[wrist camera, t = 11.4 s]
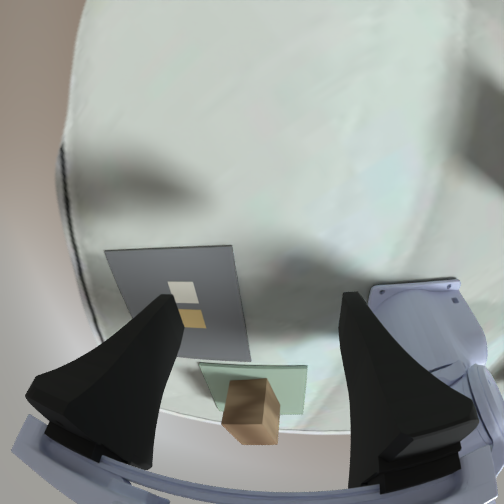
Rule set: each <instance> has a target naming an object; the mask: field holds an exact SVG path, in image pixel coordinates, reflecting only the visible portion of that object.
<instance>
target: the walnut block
mask: <svg viewBox="0 0 504 504" xmlns="http://www.w3.org/2000/svg"><path fill="white" fill-rule="evenodd" d="M279 418H280V403H279V401H278V399H277V397H276V395H275V393H274V391H273V389H272V387H271V385H270V383H269V381H268V379H267V378H262V379H248V380H230V383H229V388H228V393H227V398H226V403H225V408H224V412H223V417H222V422H221V425H222V426H223V427H225V428H226V430H227V431H228V432H229V433H231V434H232V435H233V436H234V437H235V438H236V439H237V440H238V441H239V442H240V443H241V444H242V445H274V444H275V445H277V443H278V431H279Z"/></svg>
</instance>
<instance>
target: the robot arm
mask: <svg viewBox="0 0 504 504" xmlns="http://www.w3.org/2000/svg"><path fill="white" fill-rule="evenodd" d="M460 286H461V282H460V280H459V279H453V280H442V281H430V282H418V283H404V284H389V285H376V286H373V287H372V288H371V290H370V295H369V300H368V305H367V303H366V302H365V301H364V299H363V298H362V296H361V295H360V294H359V293H358V292H343V298H342V306H341V313H340V320H339V327H338V329H339V341H340V350H341V355H342V360H343V366H344V371H345V376H346V381H347V387H348V392H349V400H350V420H351V451H350V471H349V483H348V489H342V490H332V491H318V492H262V491H248V490H237V489H229V488H221V487H215V486H209V485H203V484H197V483H192V482H188V481H183V480H179V479H174V478H170V477H166V476H163V475H159V474H155V473H152V472H149V471H145V470H148V469H150V468H151V467H152V460H153V446H154V438H155V430H156V424H157V419H158V413H159V409H160V404H161V400H162V396H163V392H164V389H165V386H166V383H167V380H168V378H169V375H170V372H171V370H172V367H173V365H174V362H175V359H176V357H177V354H178V351H179V349H180V345H181V341H182V337H183V333H184V328H185V327H184V324H183V321H182V318H181V316H180V313H179V310H178V307H177V304H176V301H175V299H174V296H173V294H160V295H159V296H158V297H157V298H156V299H154V300H153V301H152V302H151V303H150V304H149V305H148V306H146V307H145V308H144V309H143V310H142V311H141V312H140V313H139V314H137V315H136V316H135V317H134V318H133V319H132V320H131V321H130V322H128V323H127V324H126V325H125V326H124V327H122V328H121V329H120V330H119V331H118V332H116V333H115V334H114V335H113V336H111V337H110V338H109V339H107V340H106V341H105V342H103V343H102V344H100V345H99V346H98V347H96V348H95V349H93V350H91V351H90V352H88V353H86V354H85V355H83V356H81V357H80V358H78V359H76V360H74V361H72V362H70V363H68V364H66V365H64V366H62V367H59V368H57V369H55V370H52V371H49V372H46V373H44V374H41V375H38V376H36V377H35V379H34V381H33V382H32V384H31V386H30V388H29V389H28V391H27V393H26V395H25V397H26V399H27V400H28V402H29V403H30V404H31V405H32V406H33V407H34V408H35V409H36V410H37V411H39V412H40V413H41V414H42V415H43V416H44V417H45V418H47V419H48V420H49V421H50V422H49V424H48V425H46V424H45V423H43V422H42V421H40V420H39V419H37V418H35V417H34V416H32V415H31V414H29V415H28V416H27V418H26V420H25V422H24V424H23V426H22V428H21V430H20V432H19V434H18V436H17V438H16V441H15V443H14V445H13V447H12V449H11V451H12V453H13V454H15V455H16V456H17V457H18V458H19V459H21V460H22V461H23V462H24V463H25V464H27V465H28V466H29V467H30V468H31V469H32V470H34V471H35V472H36V473H37V474H39V475H40V476H41V477H42V478H43V479H45V480H46V481H47V482H48V483H49V484H51V485H52V486H53V487H55V488H56V489H57V490H59V491H60V492H61V493H63V494H64V495H66V496H67V497H68V498H70V499H71V500H73V501H74V502H76V503H77V504H170V501H169V500H168V499H165V498H162V497H159V496H156V495H154V494H152V493H150V492H148V491H145V490H142V489H140V488H137V487H134V486H132V485H131V483H130V482H129V481H131V482H133V483H137V484H139V485H142V486H145V487H148V488H151V489H155V490H158V491H162V492H165V493H169V494H173V495H177V496H181V497H185V498H190V499H195V500H199V501H204V502H210V503H216V504H496V502H495V498H497V496H498V489H497V482H496V477H497V475H498V474H499V473H500V471H501V470H502V468H503V467H504V401H503V398H502V395H501V393H500V391H499V388H498V386H497V384H496V382H495V380H494V378H493V377H492V375H491V373H490V372H489V370H488V369H487V368H486V367H485V365H486V362H487V355H488V350H487V341H486V337H485V334H484V332H483V330H482V328H481V326H480V324H479V322H478V321H477V319H476V317H475V316H474V314H473V312H472V311H471V309H470V307H469V306H468V304H467V302H466V301H465V299H464V298H463V296H462V295H461V293H460V292H459V288H460ZM381 290H383V291H382V292H380V291H381ZM124 463H125V464H124ZM127 464H128V465H127ZM130 465H131V466H130ZM133 466H134V467H133ZM136 467H137V468H136ZM139 468H140V469H139ZM142 469H143V470H142Z"/></svg>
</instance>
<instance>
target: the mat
mask: <svg viewBox="0 0 504 504" xmlns="http://www.w3.org/2000/svg"><path fill="white" fill-rule="evenodd" d="M199 366H200V368H201V371H202V373H203V376H204V378H205V380H206V383H207V385H208V387H209V389H210V392H211V394H212V396H213V398H214V401H215V403H216V405H217V407H218V409H219V411H223V412H224V408H225V403H226V398H227V393H228V388H229V383H230V380H248V379H262V378H267V379H268V381H269V383H270V385H271V387H272V389H273V391H274V393H275V395H276V397H277V399H278V401H279V403H280V415H298V414H303V409H304V400H305V390H306V380H307V366H246V365H225V364H210V363H200V364H199Z"/></svg>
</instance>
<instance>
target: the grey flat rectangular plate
mask: <svg viewBox="0 0 504 504" xmlns="http://www.w3.org/2000/svg"><path fill="white" fill-rule="evenodd" d="M104 253H105V255H106V258H107V260H108V263H109V266H110V268H111V271H112V273H113V275H114V278H115V280H116V283H117V285H118V287H119V290H120V292H121V294H122V297H123V299H124V301H125V303H126V305H127V308H128V310H129V312H130V314H131V316H132V318H134V317H135V316H136V315H137V314H139V313H140V312H141V311H142V310H143V309H144V308H145V307H146V306H148V305H149V304H150V303H151V302H152V301H153V300H154V299H156V298H157V297H158V296H159V295H160V294H173V296H174V299H175V301H176V304H177V307H178V310H179V313H180V316H181V318H182V321H183V324H184V327H185V328H184V333H183V337H182V341H181V345H180V349H179V351H178V354H177V357H183V358H194V359H206V360H221V361H240V362H251V356H250V351H249V345H248V339H247V333H246V328H245V322H244V316H243V310H242V304H241V298H240V292H239V286H238V280H237V274H236V268H235V261H234V255H233V249H232V246H208V247H182V248H158V249H134V250H111V251H105V252H104Z"/></svg>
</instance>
